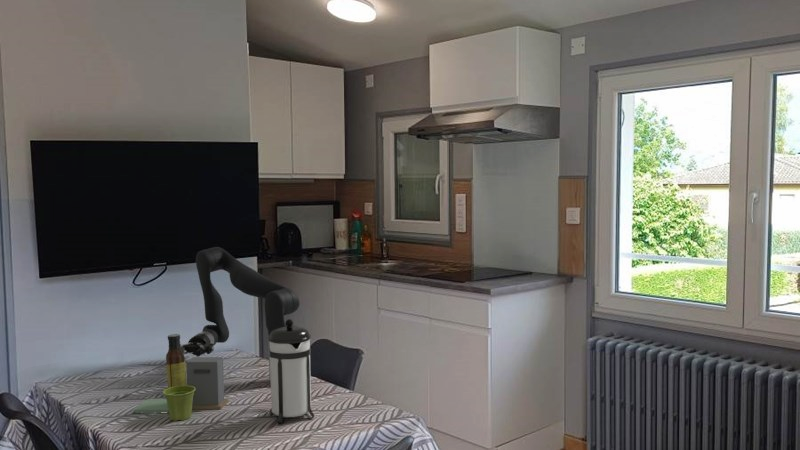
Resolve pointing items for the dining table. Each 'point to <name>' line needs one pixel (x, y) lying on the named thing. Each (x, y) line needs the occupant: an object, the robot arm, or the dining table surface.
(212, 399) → the charcoal unit
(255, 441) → the dining table surface
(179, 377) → the sauce bottle
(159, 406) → the green mat
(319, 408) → the dining table surface
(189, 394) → the plant pot
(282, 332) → the coffee press
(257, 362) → the dining table surface
